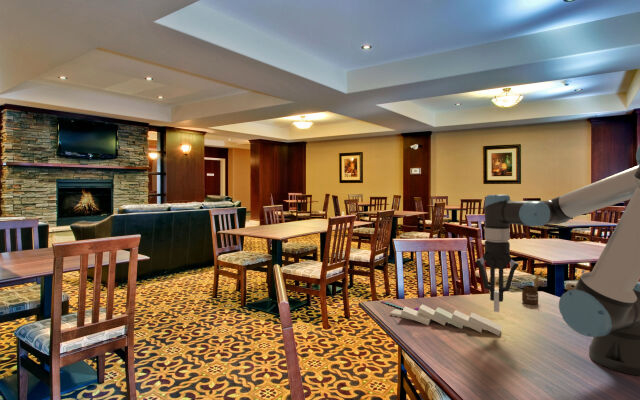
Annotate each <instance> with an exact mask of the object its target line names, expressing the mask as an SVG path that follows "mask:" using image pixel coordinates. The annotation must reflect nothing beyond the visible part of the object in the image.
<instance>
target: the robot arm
mask: <svg viewBox="0 0 640 400" xmlns="http://www.w3.org/2000/svg"><path fill="white" fill-rule="evenodd" d="M635 155H636V156H635V159H636V162H637V165H636V166H633V167H631V168H628V169H625V170H624V171H621V172H618V173H615V174H613V175H611V176H608V177H605V178H603V179H600V180H598V181H594V182H592V183H590V184H587V185H585V186H582V187H579V188H576V189H574V190H572V191H569V192H566V193H564V194H562V195H560V196H559V195H558V196H557V197H554V198H551V199H549V200H511V197H510V195H508V194H488V195H486V196H485V198H484V207H483V209H484V239H485V241H484V253H483V255H482V257H481V258H477V259H476V261H475V262H476V265H477V267H478V268H479V271H480V276H481V279H482V284H483V287H484V289H485V290H488V291H489V295H490V297H489V299H490V301H491V302H492V301H493V312H494V313H499V312H500V303H501V302H502V303H503V301H504V293H505V292H509V291H510V288H511V285H512V281H513V278H514V275H515V270H517V269H518V267H519V263H518V262H516V261H514V260H513V259H512V257H511V255H510V253H511V252H510V248H511V247H510V245H511V244H510V242H509V241H510V238H511V233H510V232H511V229H510V226H511V225H518V226H528V227H532V228H533V227H544V226H545V225H559V224H564V223H567V222H569V221H570V220H571V219H572V218H576V217H579V216H583V215H586V214H588V213H589V214H590V213H591V212H595V211H597V210H598V211H599V210H601V209H604V208H608V207H611V206H614V205H616V204H620V203H623V202H626V201H629V202H628V204H627V205H626V207H625V209H624V211H623V213H622V215H621V216H620V219H619V220H618V223H617V224H616V226H615V228H614V230H613V232H612V233H611V234H610V237H609V238H608V240H607V242H606V244H605V246H604V247H603V250H602V252H601V254H600V256H599V257H598V258H597V261H596V263H595V265H594V266H593V268H592V271H588V272H584V273H582V274H581V275H580V277H579V279H578V281H577V283H575V284H576V285H575V286H574V288H573V289H568V290H567V291H566V292H564V293H563V294H562V295H561V296H560V298H559V300H558V309H559V310H558V311H559V313H560V315H561V317H562V319H563V321H564V322H565V324H566V325H567V326H568V327H569V328H570V329H572V330H573V331H574V332H576V333H577V334H580V335H582V336H584V337H589V338H592V339H591V342H590V344H589V346H588V357H589V358H590V359H591V360H592V361H594V362H595V363H597V364H599V365H600V366H602V367H605V368H608V369H610V370H612V371H616V372H620V373H624V374H627V375H632V376H633V375H634V376H640V144H639V145H638V147H637V149H636V154H635ZM485 262H486V264H487V266H488V268H489V271H490V272H489V273H490V275H489V277H490V279H489V280H488V277H487V272H486V269H485V265H484V264H485ZM508 265H509V266H510V269H509V274H508V277H507V281H506V284H505V286H504V269H505V268H506V267H507V266H508ZM496 269H498V290H496ZM489 283H490V284H489Z"/></svg>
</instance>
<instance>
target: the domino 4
mask: <svg viewBox="0 0 640 400" xmlns="http://www.w3.org/2000/svg"><path fill="white" fill-rule="evenodd" d="M452 315H453V313H451V312H449V311H447V310H445V309H443V308H441V307H440V306H439V307H438V306H437V307H436V309H435V313H434V316H436V317H438V318H440V319H442V320H444V321H446V323H448V324H450V325H452V326H455V327H456V328H459V329H461V330H462V329H463V327H464V326H465V325H464V324H462V323H459V322H457V321H455V320H453V319H451V318H452Z"/></svg>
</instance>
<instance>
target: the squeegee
mask: <svg viewBox="0 0 640 400" xmlns="http://www.w3.org/2000/svg"><path fill="white" fill-rule="evenodd" d="M381 301H382V302H383V304H385V305H388V304H389V305H388V306H391V305H392V307H394V306H395V308H397V307H398V308H397V309H400V308H401V310H402V309H404V307H403V306H399V305H396V304H393V303H390V302H386V301H384V300H381ZM382 302H381V303H382ZM424 305H425V306H427V305H426V304H424ZM413 309H414V310H416V311H418V310H419V307H415V308H413ZM431 321H433V322H435V321H434V320H432V319H431Z"/></svg>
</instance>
